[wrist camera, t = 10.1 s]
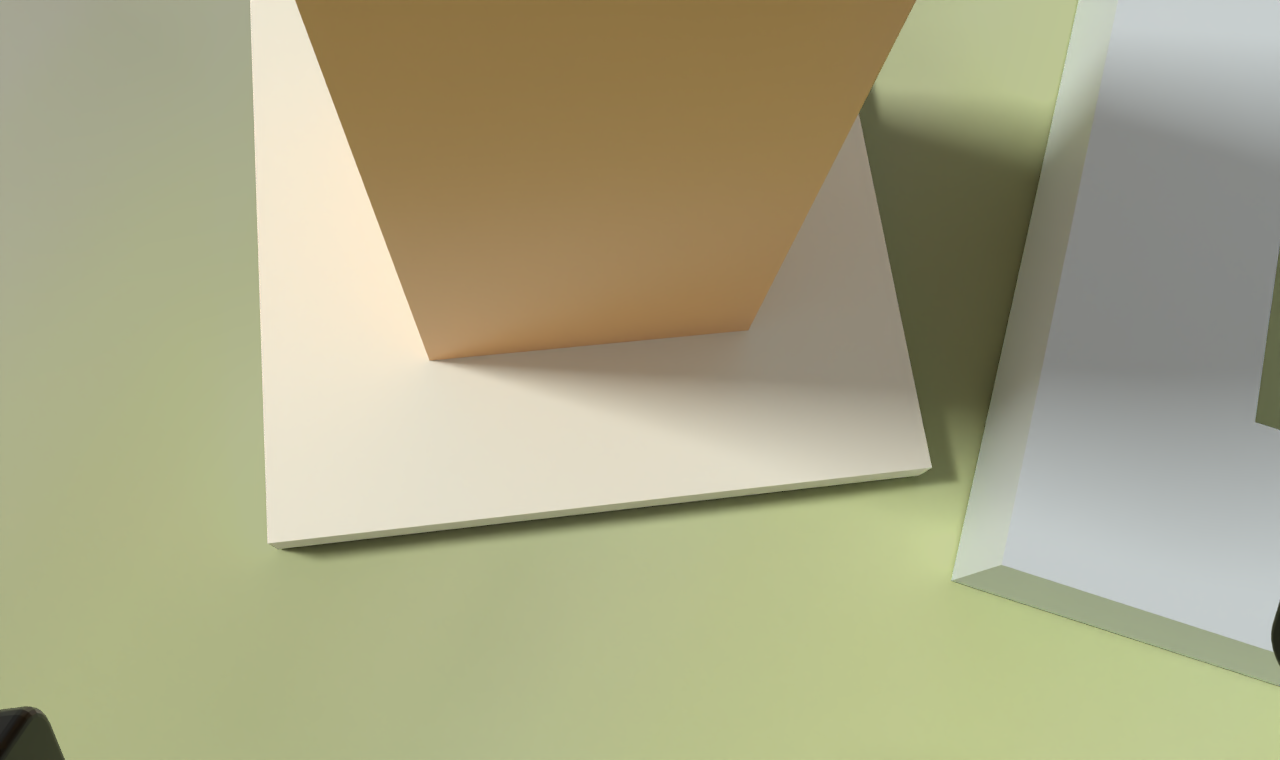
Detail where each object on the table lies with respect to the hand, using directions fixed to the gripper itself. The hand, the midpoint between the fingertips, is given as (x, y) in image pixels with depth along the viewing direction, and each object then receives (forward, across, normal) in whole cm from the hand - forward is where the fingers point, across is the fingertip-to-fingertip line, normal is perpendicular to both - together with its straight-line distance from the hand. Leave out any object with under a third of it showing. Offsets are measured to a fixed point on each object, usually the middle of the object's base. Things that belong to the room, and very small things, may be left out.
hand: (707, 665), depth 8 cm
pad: (+12, 0, +1) cm, 12 cm away
